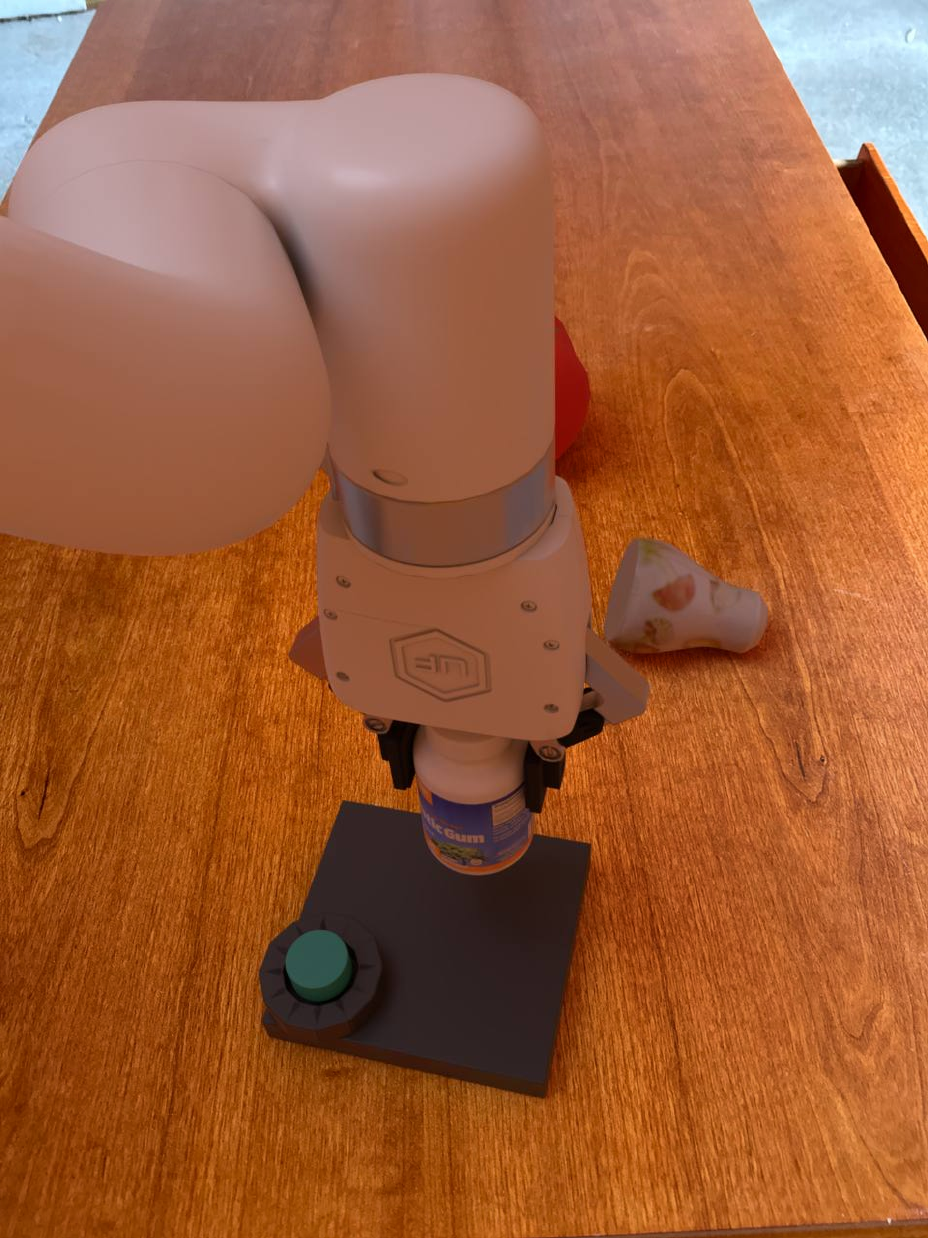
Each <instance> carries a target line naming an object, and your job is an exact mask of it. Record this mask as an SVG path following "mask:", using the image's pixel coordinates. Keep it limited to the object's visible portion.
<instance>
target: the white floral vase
mask: <svg viewBox="0 0 928 1238" xmlns="http://www.w3.org/2000/svg"><path fill="white" fill-rule="evenodd" d="M611 587H612V588H611V591H610V595H609V598H608V602H607V609H606V614H605V620H604V627H603V636H604V641H606V643H609V644H611V645H613V646H614V647H616V648H618V649H619V650H620V649H621V650H622V651H626V652H630V653H635V654H657V653H665V652H673V651H679V650H685V649H694V648H702V647H703V648H715V649H720V650H725V651H730V652H734V653H738V654H743V653H746V652H747V651H749V650H752V649H753V648H755V647H756V646H758V644H759V643H760V641H761V640H762V639H763V638H762V637H763V636H764V633H765V630H766V628H767V625H768V620H769V619H768V618H769V610H768V609H769V608H768V606H767V604H766V603H767V602H765V600H764V599H763V598H762V596H761V594H760V593H759V592H758V591H756V590H752V589H749V588H745V587H741V586H738V585H735V584H732V583H729V582H727V581H724V580H723V579H721V578H719V577H718V576H716V575H715V574H713V573H712V572H710V571H709V569H707V568H705V567H704V566H703V565H701V564H700V563H698V562H697V561H696V560H694V559H693V558H692V557H690V556H689V555H688V554H687V553H685V552H683V551H682V550H680V548H677V547H676V546H674V545H672V544H670V543H668V542H665V541H663V540H660V539H655V538H649V537H648V538H647V537H646V538H645V537H637V538H633V539H632V540H631V541H630V542H629V544H627V547H626V549H625V551H624V553H623V555H622V557H621V560H620V563H619V565H618V567H617V570H616V573H615V577H614V580H613V584H612V586H611Z"/></svg>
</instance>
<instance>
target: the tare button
mask: <svg viewBox="0 0 928 1238" xmlns="http://www.w3.org/2000/svg"><path fill="white" fill-rule="evenodd" d="M286 970H287V973H288V976H289V978H290V981H291V983H292V986H293V988H294V989H295V991H296V992H297V993H298V994H299V995H300V996H301V997H303V998H304V999H307V1000H309V1001H314V1002H322V1001H327V1000H330V999H332V998H334V997H336V996H337V995H339V994H340V993H341V992H342V991H343V990H344V989H345V988H346V986H347V985H348V983H349V981H350V979H351V975H352V964H351V960H350V957H349V953H348V950H347V947H346V945H345V943H344V941H343V940H342V939H341V938H340V937H339V936H338V935H336V934H335V933H333V932H330V931H327V930H314V931H310V932H307V933H305V934H303V935H302V936H300V937H299V938H297V939H296V940H295V941H294V942H293V944H292V945H291V947H290V948H289V950H288V953H287V956H286Z"/></svg>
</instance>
